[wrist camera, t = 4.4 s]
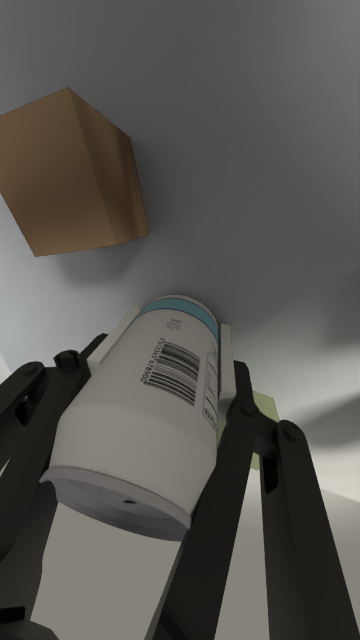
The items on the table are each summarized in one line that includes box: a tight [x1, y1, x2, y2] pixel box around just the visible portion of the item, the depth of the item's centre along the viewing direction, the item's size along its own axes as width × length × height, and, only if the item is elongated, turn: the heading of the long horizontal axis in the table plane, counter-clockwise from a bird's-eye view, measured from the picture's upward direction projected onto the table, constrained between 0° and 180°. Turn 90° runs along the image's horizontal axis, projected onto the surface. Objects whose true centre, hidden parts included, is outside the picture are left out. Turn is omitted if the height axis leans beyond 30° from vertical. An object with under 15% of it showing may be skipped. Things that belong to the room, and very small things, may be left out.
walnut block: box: [0, 88, 150, 257], centre depth 10 cm, size 5×5×5 cm
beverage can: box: [39, 295, 219, 542], centre depth 11 cm, size 7×7×12 cm
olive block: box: [217, 391, 280, 470], centre depth 18 cm, size 5×5×5 cm
